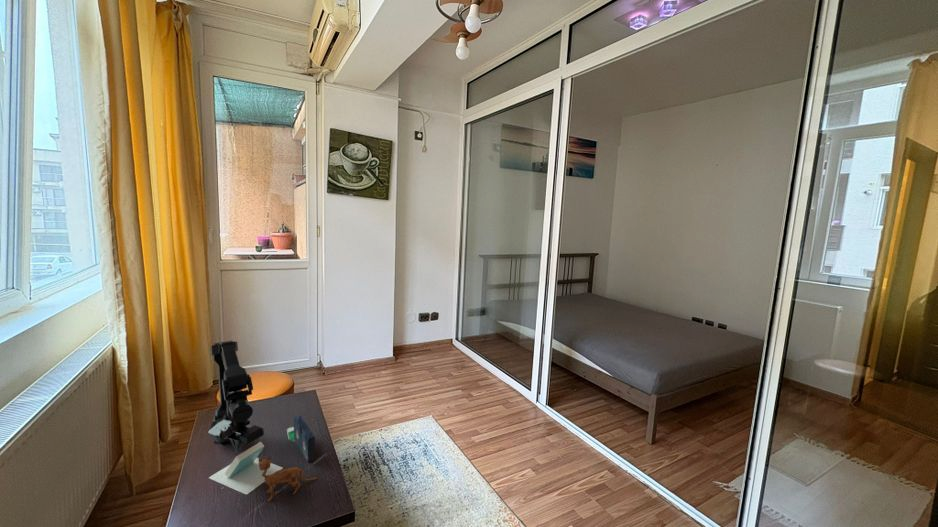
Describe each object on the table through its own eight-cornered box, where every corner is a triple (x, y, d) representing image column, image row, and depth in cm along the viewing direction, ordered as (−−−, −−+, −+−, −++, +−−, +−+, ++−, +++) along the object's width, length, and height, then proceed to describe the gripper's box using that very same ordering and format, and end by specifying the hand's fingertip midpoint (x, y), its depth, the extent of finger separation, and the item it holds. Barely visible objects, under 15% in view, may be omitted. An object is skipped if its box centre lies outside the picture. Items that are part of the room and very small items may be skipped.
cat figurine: (314, 475, 127) (316, 438, 126) (320, 486, 122) (322, 448, 121) (255, 495, 116) (257, 454, 115) (259, 508, 111) (260, 466, 110)
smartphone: (304, 424, 156) (310, 442, 144) (304, 425, 156) (310, 444, 144) (286, 428, 152) (290, 447, 140) (286, 430, 152) (290, 449, 140)
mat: (208, 479, 122) (208, 477, 122) (247, 455, 135) (247, 453, 135) (246, 496, 115) (246, 494, 115) (283, 469, 128) (283, 467, 128)
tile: (224, 473, 122) (236, 456, 119) (249, 458, 131) (260, 441, 128) (228, 479, 122) (240, 461, 119) (253, 463, 130) (264, 446, 127)
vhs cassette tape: (314, 462, 133) (314, 436, 132) (306, 465, 131) (306, 439, 130) (301, 437, 147) (301, 414, 146) (293, 440, 145) (293, 416, 144)
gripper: (193, 413, 120) (195, 458, 122) (232, 427, 113) (234, 474, 115) (227, 399, 130) (228, 440, 132) (264, 411, 123) (265, 454, 125)
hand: (238, 451), depth 126 cm, fingers closed
